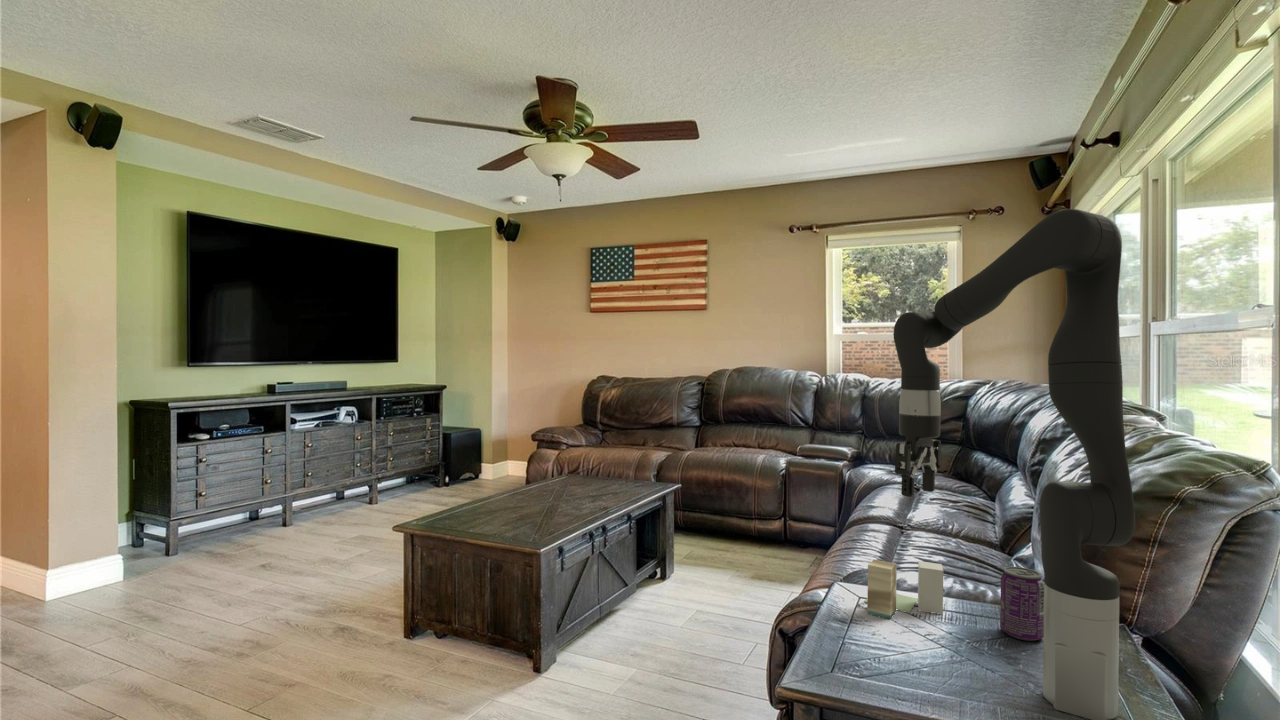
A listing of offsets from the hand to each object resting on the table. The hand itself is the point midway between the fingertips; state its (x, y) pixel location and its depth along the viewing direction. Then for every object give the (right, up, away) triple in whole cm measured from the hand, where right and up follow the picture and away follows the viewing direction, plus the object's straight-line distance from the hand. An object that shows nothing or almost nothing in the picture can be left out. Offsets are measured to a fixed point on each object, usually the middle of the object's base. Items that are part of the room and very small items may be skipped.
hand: (918, 493), depth 122 cm
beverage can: (+17, -26, -6) cm, 31 cm away
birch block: (-6, -25, +3) cm, 26 cm away
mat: (-1, -25, +10) cm, 27 cm away
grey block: (+5, -26, +6) cm, 27 cm away
